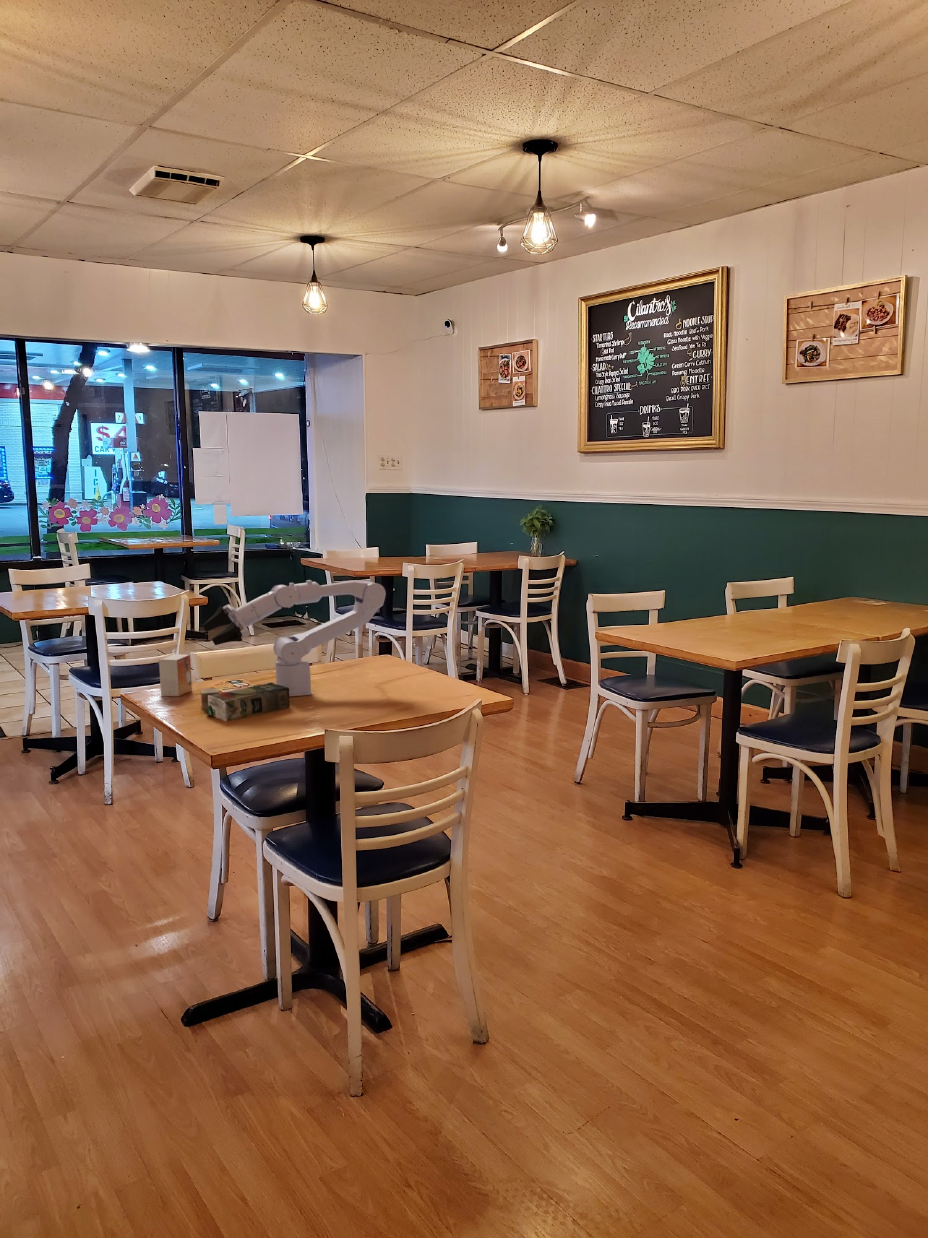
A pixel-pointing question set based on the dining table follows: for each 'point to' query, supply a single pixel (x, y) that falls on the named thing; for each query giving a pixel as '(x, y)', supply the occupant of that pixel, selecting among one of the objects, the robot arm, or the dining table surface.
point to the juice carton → (248, 701)
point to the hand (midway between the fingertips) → (208, 635)
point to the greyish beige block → (205, 696)
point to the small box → (175, 675)
